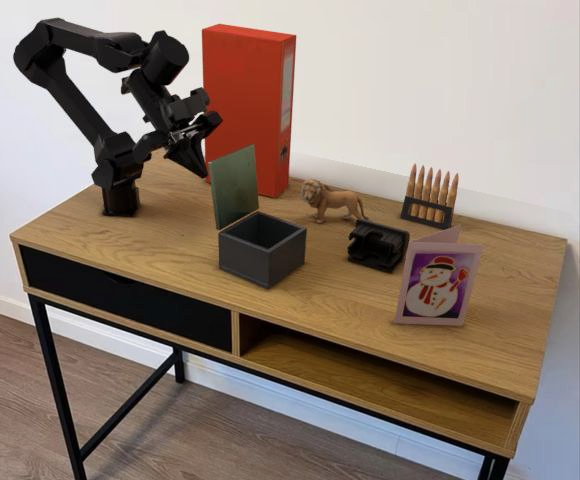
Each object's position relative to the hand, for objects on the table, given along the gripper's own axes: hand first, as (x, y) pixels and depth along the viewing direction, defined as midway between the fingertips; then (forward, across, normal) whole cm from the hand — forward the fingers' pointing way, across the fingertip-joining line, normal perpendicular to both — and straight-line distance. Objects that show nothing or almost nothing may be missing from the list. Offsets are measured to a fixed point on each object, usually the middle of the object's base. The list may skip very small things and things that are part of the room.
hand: (205, 177), depth 114 cm
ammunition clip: (+30, +36, -11) cm, 49 cm away
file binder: (+2, +28, +18) cm, 33 cm away
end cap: (+30, +16, -10) cm, 35 cm away
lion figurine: (+19, +24, 0) cm, 31 cm away
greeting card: (+41, +4, -21) cm, 46 cm away
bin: (+19, 0, 0) cm, 19 cm away
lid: (+5, 0, -5) cm, 7 cm away
